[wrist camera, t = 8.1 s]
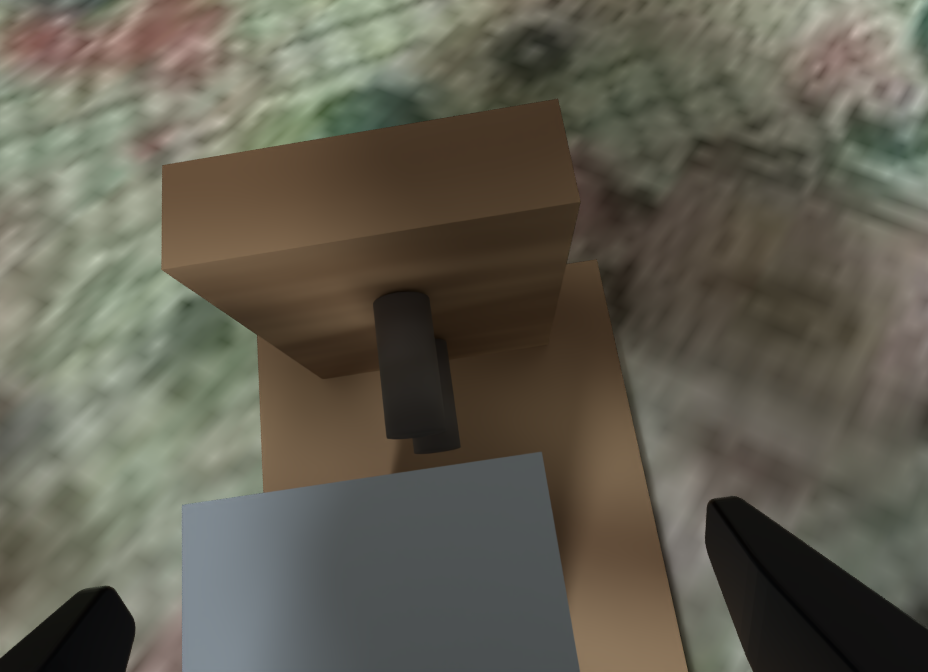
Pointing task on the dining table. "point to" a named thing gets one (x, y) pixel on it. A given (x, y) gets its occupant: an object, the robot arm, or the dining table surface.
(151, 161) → the dining table surface
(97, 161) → the dining table surface
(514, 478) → the grey rectangular block
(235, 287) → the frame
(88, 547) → the dining table surface
